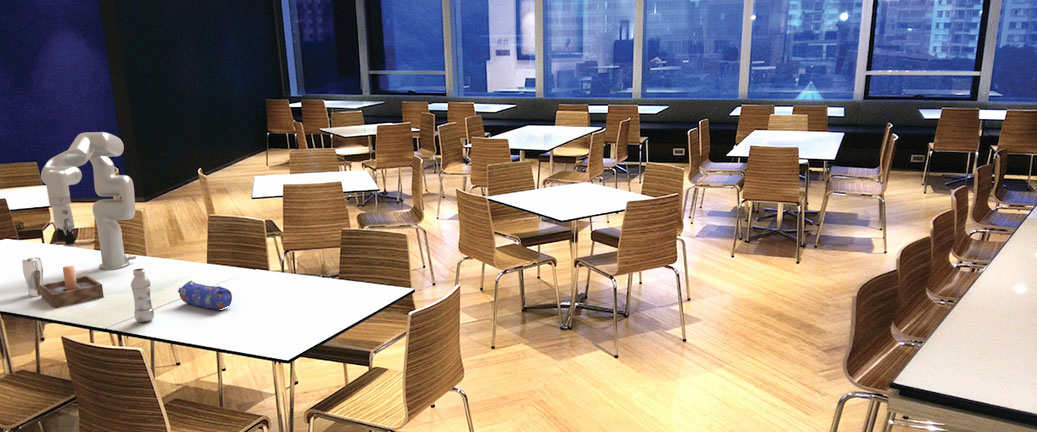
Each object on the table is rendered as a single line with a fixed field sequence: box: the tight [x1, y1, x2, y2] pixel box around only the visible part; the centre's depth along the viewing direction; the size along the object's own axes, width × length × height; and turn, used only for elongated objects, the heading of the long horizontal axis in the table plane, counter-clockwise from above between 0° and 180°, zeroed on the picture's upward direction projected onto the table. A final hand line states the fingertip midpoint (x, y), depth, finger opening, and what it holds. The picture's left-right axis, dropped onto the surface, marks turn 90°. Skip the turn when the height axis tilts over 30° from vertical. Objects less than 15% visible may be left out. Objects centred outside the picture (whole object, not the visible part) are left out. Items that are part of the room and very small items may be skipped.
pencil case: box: [177, 280, 233, 311], centre depth 307 cm, size 22×9×10 cm, turn 61°
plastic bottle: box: [130, 268, 155, 323], centre depth 290 cm, size 6×7×20 cm
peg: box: [62, 265, 77, 291], centre depth 319 cm, size 4×4×12 cm
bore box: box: [40, 275, 105, 309], centre depth 319 cm, size 18×18×6 cm
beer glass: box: [21, 257, 44, 298], centre depth 323 cm, size 7×7×15 cm
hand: (66, 241), depth 318 cm, fingers open, 9 cm apart
